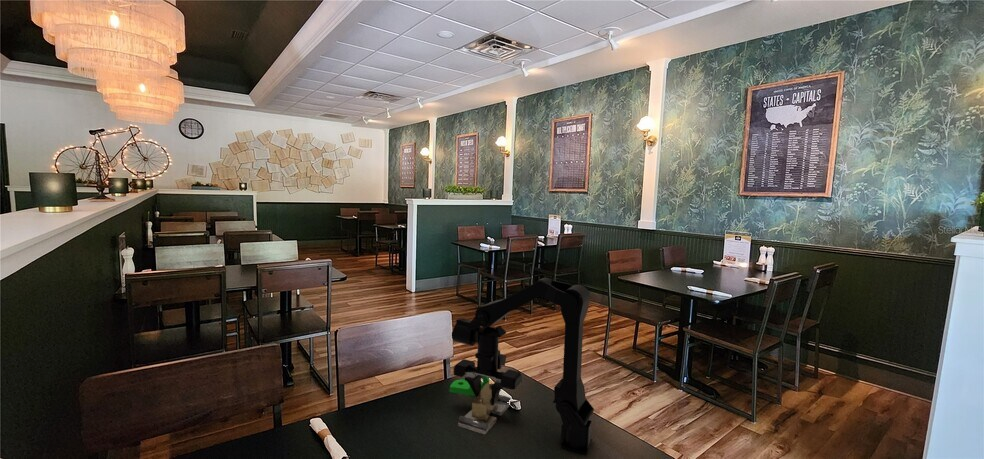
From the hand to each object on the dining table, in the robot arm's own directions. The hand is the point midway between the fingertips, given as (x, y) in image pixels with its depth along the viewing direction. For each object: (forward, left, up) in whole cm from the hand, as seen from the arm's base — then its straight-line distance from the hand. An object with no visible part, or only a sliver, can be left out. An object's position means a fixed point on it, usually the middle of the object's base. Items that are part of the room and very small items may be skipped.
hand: (486, 402), depth 115 cm
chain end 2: (0, -5, -4) cm, 6 cm away
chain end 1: (0, +5, -4) cm, 6 cm away
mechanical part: (+10, -10, -4) cm, 15 cm away
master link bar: (0, 0, -1) cm, 1 cm away
